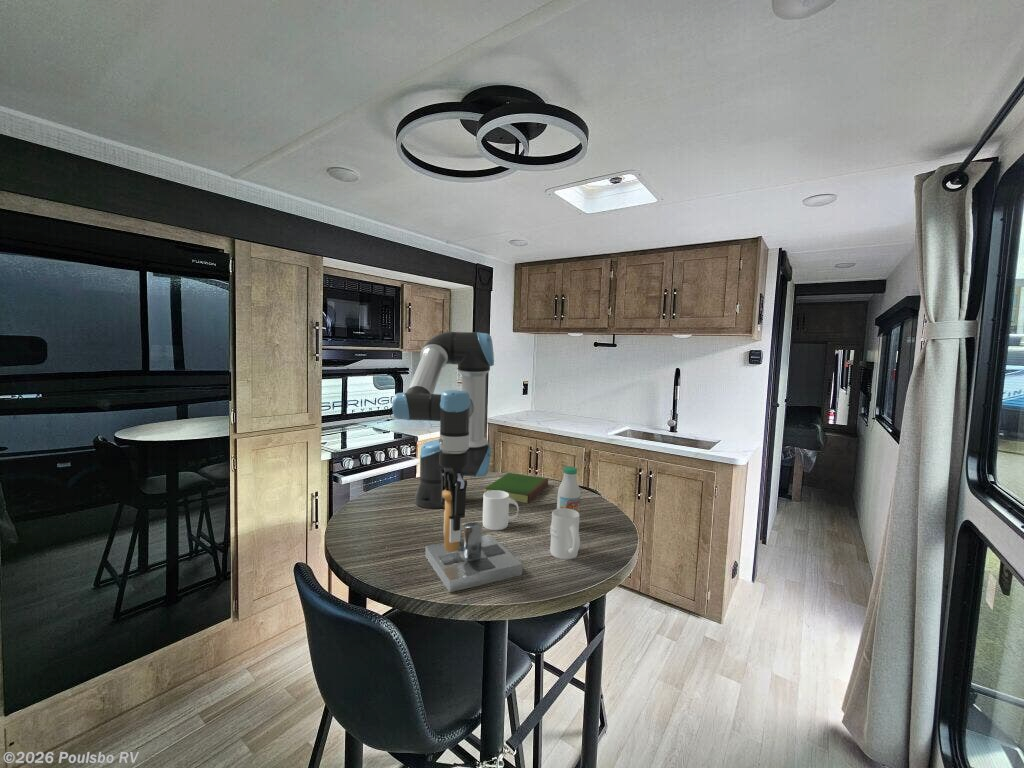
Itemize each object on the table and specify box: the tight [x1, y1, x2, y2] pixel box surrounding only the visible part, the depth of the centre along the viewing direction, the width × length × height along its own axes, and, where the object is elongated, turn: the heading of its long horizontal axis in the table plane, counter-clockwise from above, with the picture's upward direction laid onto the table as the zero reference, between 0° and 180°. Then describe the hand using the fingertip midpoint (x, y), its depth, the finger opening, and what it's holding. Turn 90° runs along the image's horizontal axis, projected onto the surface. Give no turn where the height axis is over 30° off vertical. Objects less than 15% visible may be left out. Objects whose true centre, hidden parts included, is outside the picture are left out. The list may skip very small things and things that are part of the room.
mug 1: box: [482, 490, 520, 531], centre depth 145 cm, size 9×12×11 cm
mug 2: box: [549, 508, 581, 560], centre depth 125 cm, size 8×12×12 cm
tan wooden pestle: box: [442, 490, 459, 552], centre depth 114 cm, size 6×6×15 cm
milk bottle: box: [556, 465, 581, 519], centre depth 147 cm, size 8×8×20 cm
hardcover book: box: [485, 472, 549, 504], centre depth 182 cm, size 25×19×4 cm
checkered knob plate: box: [424, 522, 523, 593], centre depth 118 cm, size 20×20×11 cm
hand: (451, 537), depth 115 cm, fingers closed on tan wooden pestle, 4 cm apart
